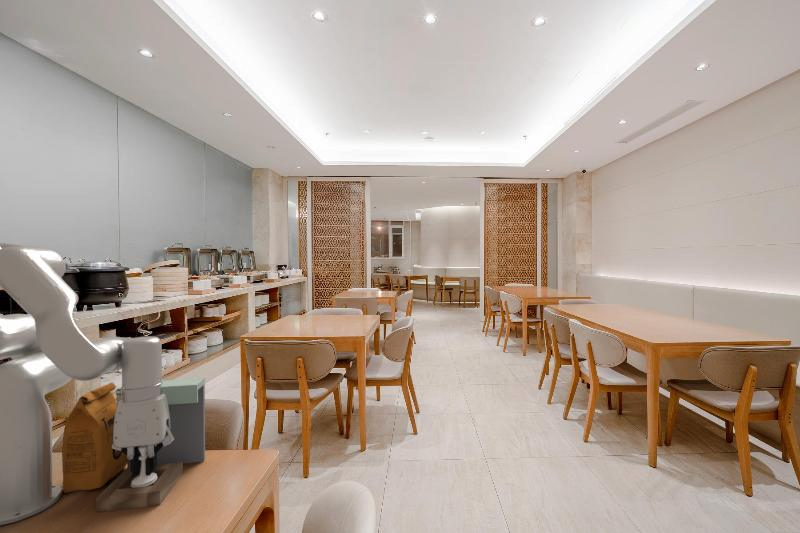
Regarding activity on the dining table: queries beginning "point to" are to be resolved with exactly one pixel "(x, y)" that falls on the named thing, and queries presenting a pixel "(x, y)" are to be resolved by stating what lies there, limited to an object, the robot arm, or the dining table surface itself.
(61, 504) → the dining table surface
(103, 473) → the coffee package
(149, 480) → the chess piece
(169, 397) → the grey green box
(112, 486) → the socket block
